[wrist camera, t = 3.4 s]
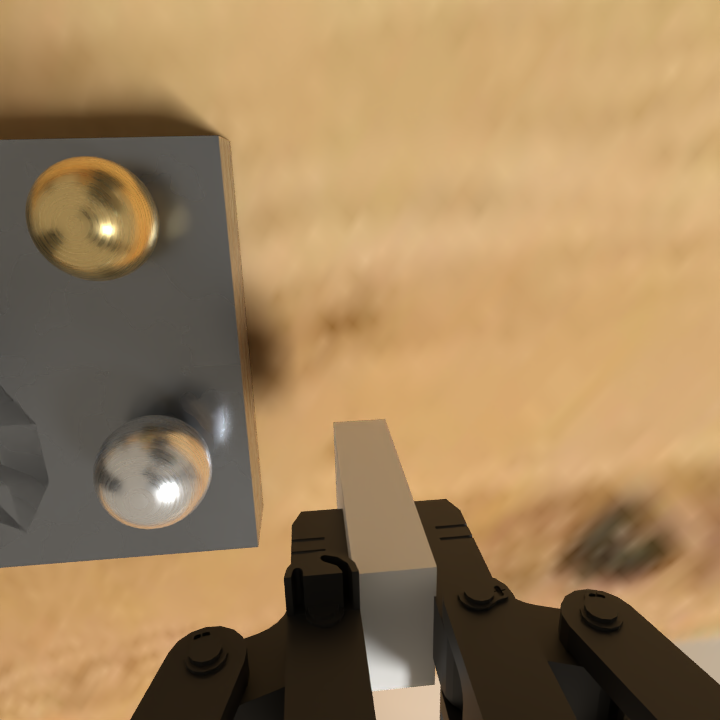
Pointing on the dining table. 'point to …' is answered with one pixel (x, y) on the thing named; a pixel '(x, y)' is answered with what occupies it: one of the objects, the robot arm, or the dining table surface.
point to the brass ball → (92, 218)
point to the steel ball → (152, 472)
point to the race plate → (124, 358)
